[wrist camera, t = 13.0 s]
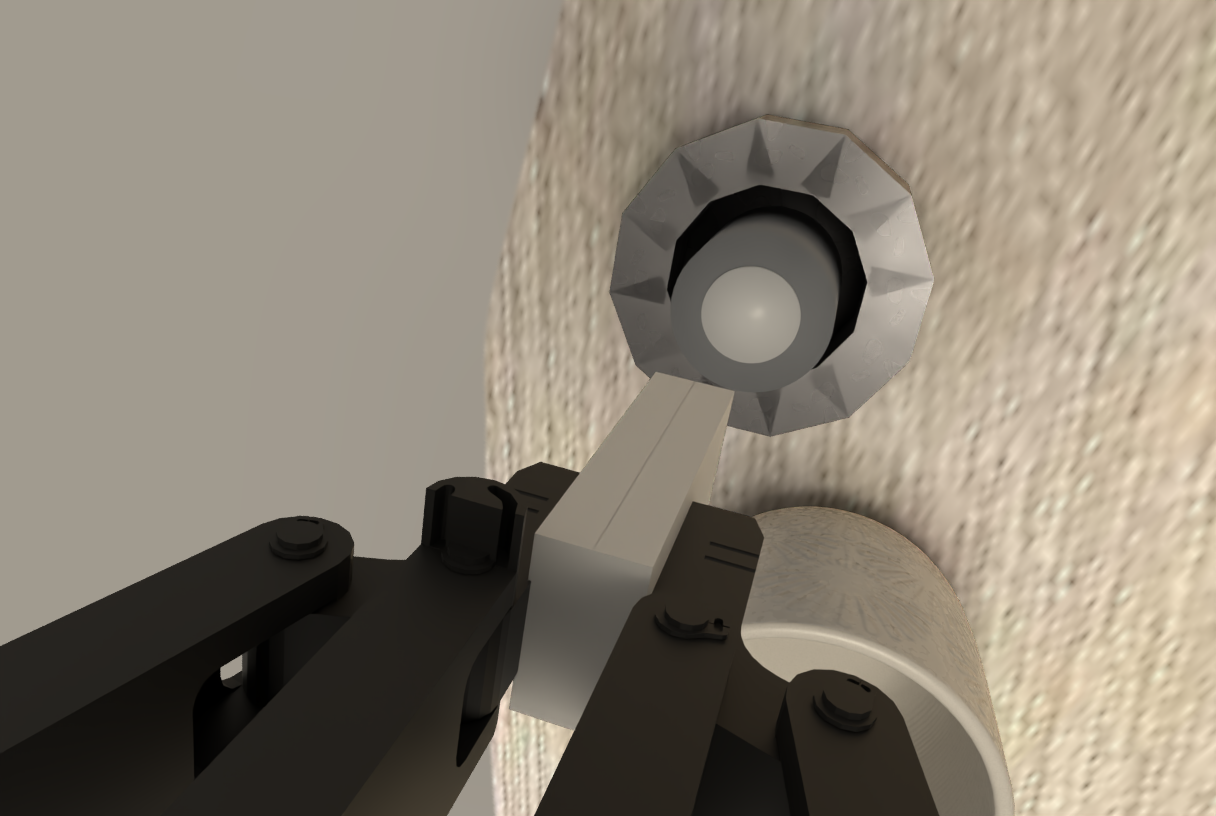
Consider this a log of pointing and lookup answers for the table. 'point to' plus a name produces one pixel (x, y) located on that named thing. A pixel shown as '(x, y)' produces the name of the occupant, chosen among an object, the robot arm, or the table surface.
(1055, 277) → the table surface
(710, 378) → the cap
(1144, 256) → the table surface
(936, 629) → the planter
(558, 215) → the table surface
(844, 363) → the grey ring
